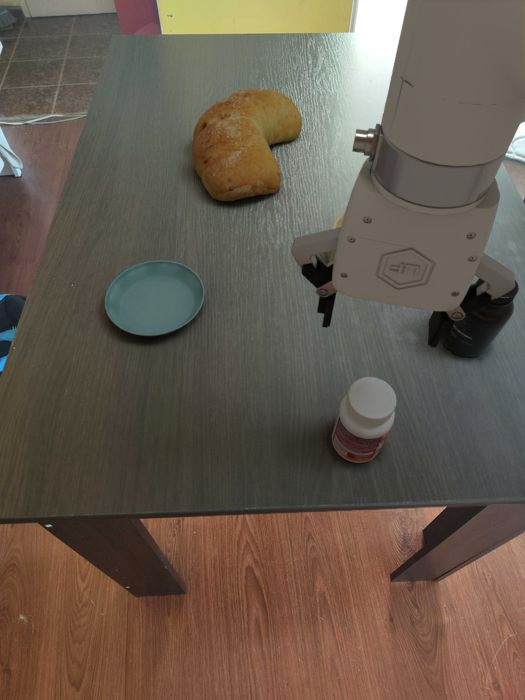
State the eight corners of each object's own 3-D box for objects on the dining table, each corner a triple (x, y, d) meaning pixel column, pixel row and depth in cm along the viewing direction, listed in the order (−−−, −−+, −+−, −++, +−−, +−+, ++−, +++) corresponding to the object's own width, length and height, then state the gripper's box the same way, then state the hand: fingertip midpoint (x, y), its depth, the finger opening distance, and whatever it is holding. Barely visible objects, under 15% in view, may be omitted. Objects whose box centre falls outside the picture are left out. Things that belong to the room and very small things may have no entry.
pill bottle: (381, 466, 57) (404, 426, 47) (330, 462, 57) (344, 421, 48) (378, 421, 60) (400, 375, 51) (331, 416, 60) (343, 370, 51)
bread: (220, 109, 104) (216, 61, 96) (307, 122, 101) (311, 73, 93) (167, 198, 86) (157, 148, 78) (271, 215, 83) (271, 165, 75)
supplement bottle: (439, 353, 66) (470, 297, 56) (440, 317, 70) (469, 259, 60) (489, 363, 65) (529, 308, 55) (487, 325, 69) (525, 268, 59)
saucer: (95, 339, 68) (90, 328, 65) (126, 267, 76) (122, 255, 74) (194, 351, 66) (192, 340, 64) (214, 276, 75) (213, 264, 73)
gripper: (288, 174, 28) (279, 339, 42) (591, 217, 26) (476, 377, 40) (309, 111, 32) (295, 280, 46) (572, 143, 30) (474, 311, 44)
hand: (379, 325), depth 43 cm, fingers open, 9 cm apart
